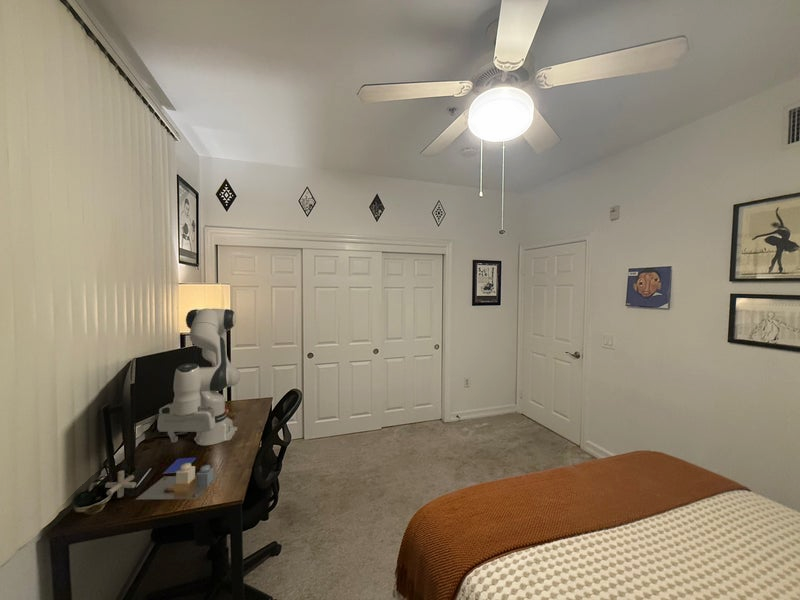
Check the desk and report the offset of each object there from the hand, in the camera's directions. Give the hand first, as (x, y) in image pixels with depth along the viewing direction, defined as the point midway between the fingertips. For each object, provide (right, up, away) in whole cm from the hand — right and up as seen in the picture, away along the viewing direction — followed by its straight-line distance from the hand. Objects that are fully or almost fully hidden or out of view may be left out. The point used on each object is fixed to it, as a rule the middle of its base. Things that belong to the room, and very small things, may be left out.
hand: (186, 441), depth 121 cm
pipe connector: (-22, -20, -4) cm, 30 cm away
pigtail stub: (-3, -19, 0) cm, 19 cm away
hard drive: (-15, -20, +18) cm, 31 cm away
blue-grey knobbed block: (+3, -19, +6) cm, 20 cm away
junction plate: (-4, -20, +2) cm, 20 cm away
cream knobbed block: (0, -15, 0) cm, 15 cm away
